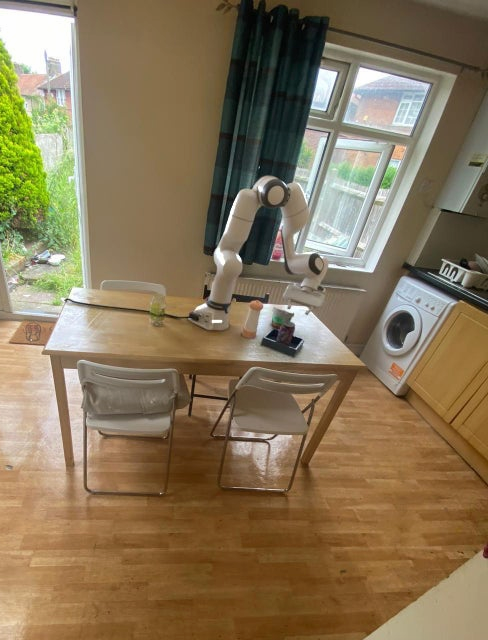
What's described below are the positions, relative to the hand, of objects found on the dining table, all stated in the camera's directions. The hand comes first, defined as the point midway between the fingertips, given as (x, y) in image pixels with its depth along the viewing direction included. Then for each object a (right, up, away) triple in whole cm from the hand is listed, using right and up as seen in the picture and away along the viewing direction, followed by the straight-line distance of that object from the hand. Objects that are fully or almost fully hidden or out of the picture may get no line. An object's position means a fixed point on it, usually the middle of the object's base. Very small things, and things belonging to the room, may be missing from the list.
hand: (297, 311), depth 169 cm
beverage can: (-7, -17, +2) cm, 19 cm away
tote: (-7, -17, +2) cm, 19 cm away
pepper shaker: (-24, -11, +7) cm, 27 cm away
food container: (-5, -4, +19) cm, 20 cm away
